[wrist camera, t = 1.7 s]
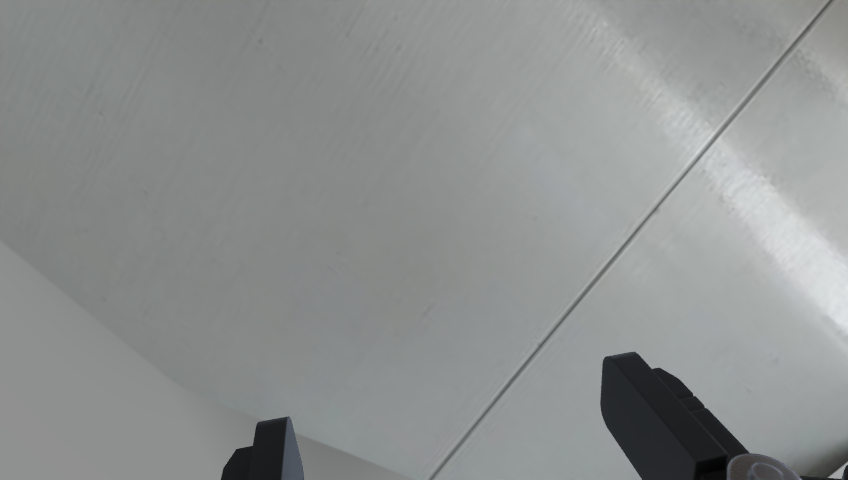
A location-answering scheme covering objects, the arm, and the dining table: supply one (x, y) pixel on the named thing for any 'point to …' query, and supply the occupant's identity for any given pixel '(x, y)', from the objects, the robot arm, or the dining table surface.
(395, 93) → the dining table surface
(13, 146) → the dining table surface
